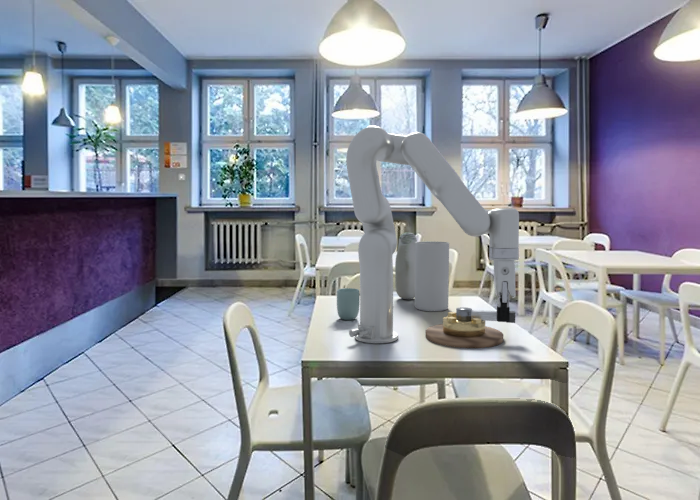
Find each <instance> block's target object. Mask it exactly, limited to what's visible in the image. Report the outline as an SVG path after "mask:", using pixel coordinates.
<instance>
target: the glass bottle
mask: <svg viewBox="0 0 700 500" xmlns="http://www.w3.org/2000/svg"><path fill="white" fill-rule="evenodd" d="M415 242H418V239H417V236H416V234H414V233H413V232H409V231H408V232H402V233H401V234H400V236H399V238H398V243H397V249H396V250H397V251H396V256H395V263H394V265H395V267H394V272H395V274H394V276H395V279H394V280H395V292H396V294H397V296H398V297H399V298H401V299H402V298H403V300H413V299H415Z"/></svg>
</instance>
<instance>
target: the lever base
mask: <svg viewBox="0 0 700 500" xmlns="http://www.w3.org/2000/svg"><path fill="white" fill-rule="evenodd" d="M425 338H426V340H428V341H430V342H432V343H434V344H437V345H440V344H441V346H445V345H446V346H445V347H450V346H451V348H459V349H461V348H462V349H485V347H487V348H493V347H497V346H499V345H502V343H504V333H503V332H502V331H500V330H499V329H496V328H494V327H490V326H486V325H485V334H484V335H481V336H475V337H462V336H454V335H450V334H447V333H445V332H443V323H440V324H434V325H431V326H429V327H427V328H426V329H425Z"/></svg>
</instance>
